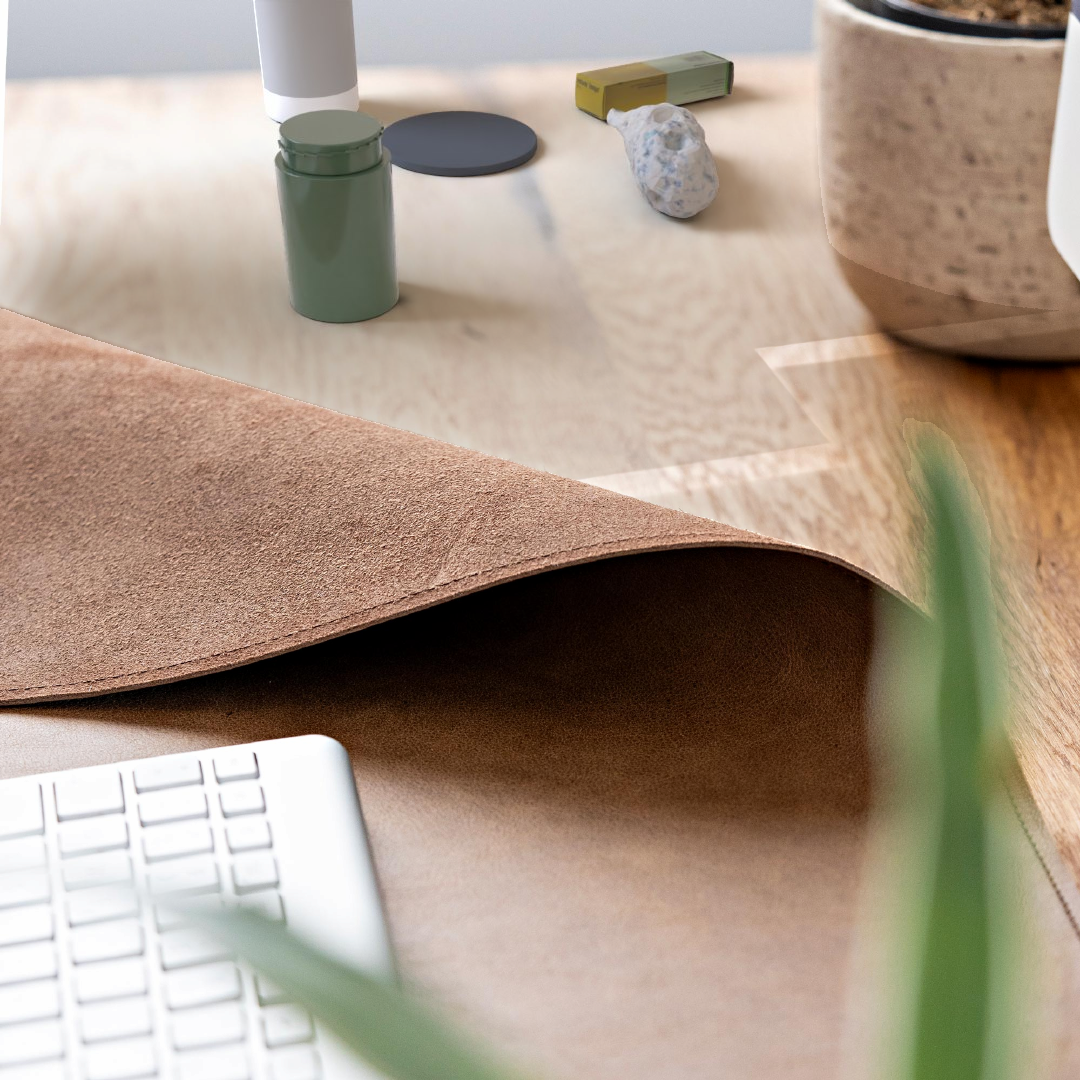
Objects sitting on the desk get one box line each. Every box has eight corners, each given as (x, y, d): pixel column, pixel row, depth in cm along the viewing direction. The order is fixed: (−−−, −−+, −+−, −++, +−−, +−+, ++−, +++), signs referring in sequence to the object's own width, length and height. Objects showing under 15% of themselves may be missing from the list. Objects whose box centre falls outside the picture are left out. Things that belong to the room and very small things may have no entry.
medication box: (732, 97, 99) (701, 82, 101) (736, 61, 97) (704, 47, 100) (601, 123, 94) (572, 106, 96) (603, 85, 92) (573, 70, 95)
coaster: (394, 182, 84) (393, 173, 84) (367, 125, 93) (367, 116, 92) (555, 168, 87) (555, 159, 86) (515, 113, 95) (515, 105, 95)
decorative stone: (750, 223, 80) (759, 143, 77) (646, 230, 79) (651, 149, 76) (688, 146, 90) (695, 73, 87) (596, 152, 89) (599, 78, 86)
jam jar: (296, 328, 68) (277, 152, 63) (284, 279, 73) (265, 111, 67) (408, 316, 70) (398, 142, 64) (389, 268, 74) (378, 102, 68)
